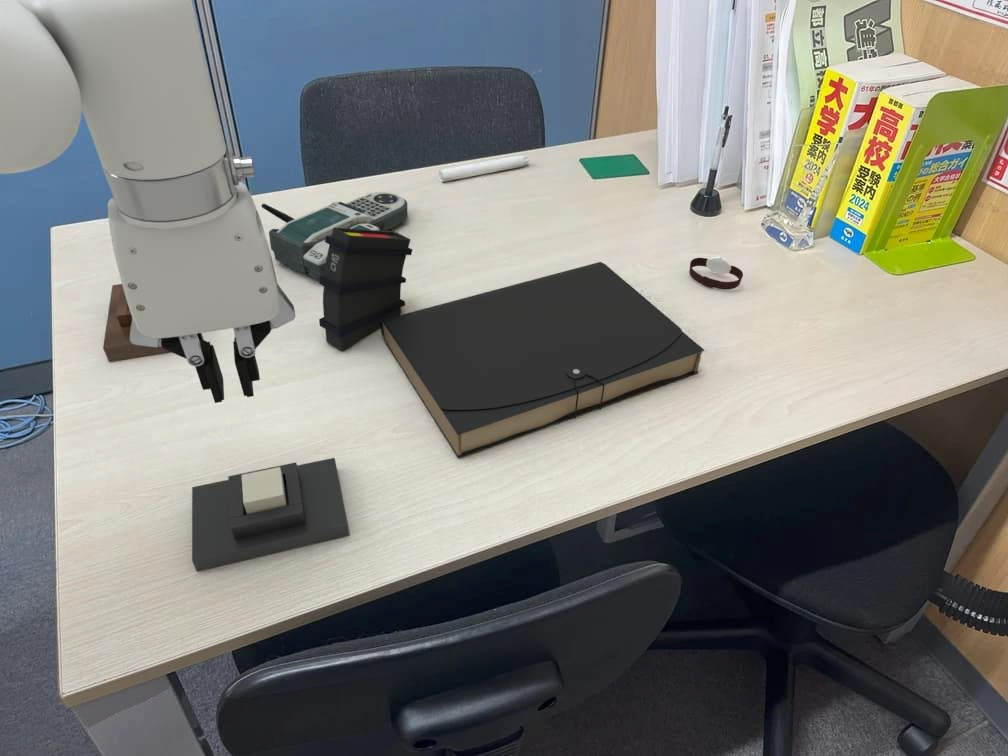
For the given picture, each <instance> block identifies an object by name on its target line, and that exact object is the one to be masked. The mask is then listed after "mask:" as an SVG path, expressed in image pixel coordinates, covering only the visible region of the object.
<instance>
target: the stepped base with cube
mask: <svg viewBox="0 0 1008 756" xmlns="http://www.w3.org/2000/svg"><path fill="white" fill-rule="evenodd" d="M277 467H280V468H281V472H282V476H283V481H284V489H285V497H286V505H287V506H284V507H280V508H275V509H271V510H266V511H262V512H257V513H252V514H248V515H247V513H246V510H245V507H244V504H243V491H242V475H243V474H248V473H253V472H258V471H263V470H267V469H272V468H277ZM344 537H345V538H346V537H350V529H349V523H348V519H347V514H346V509H345V503H344V498H343V493H342V487H341V483H340V477H339V473H338V468H337V462H336V458H335V457H331V458H327V459H322V460H316V461H311V462H307V463H302V464H297V462H290V463H287V464H286V463H285V464H282V465H281V464H280V465H277V466H276V465H275V466H271V467H266V468H262V469H257V470H252V471H247V472H243V473H238V474H233V475H228V477H227V479H225V480H221V481H220V480H219V481H215V482H211V483H210V482H209V483H205V484H201V485H197V486H192V487H191V562H192V564H193V567H194V569H195V571H196V572H201V571H205V570H209V569H213V568H218V567H222V566H226V565H231V564H234V563H238V562H243V561H247V560H251V559H252V560H253V559H256V558H259V557H265V556H268V555H273V554H276V553H281V552H285V551H290V550H293V549H298V548H302V547H306V546H310V545H315V544H319V543H324V542H328V541H332V540H335V539H340V538H344Z"/></svg>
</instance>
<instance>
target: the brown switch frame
mask: <svg viewBox="0 0 1008 756" xmlns="http://www.w3.org/2000/svg"><path fill="white" fill-rule="evenodd" d="M110 291H111V292H110V299H109V304H108V305H109V306H108V313H107V319H106V324H105V325H106V326H105V331H104V338H103V346H102V349H103V351H104V354H105V356H106V359H107V360H108V362H109V363H110V362H116V361H124V360H127V359H128V360H129V359H135V358H141V357H147V356H154V355H160V354H161V355H162V354H166V353H171V352H170V351H168V350H166V349H164V348H163V347H160V346H158V347H150V346H141V345H135V344H132V343H131V342H130V330H131V322H132V315H131V312H130V309H129V306H128V303H127V299H126V296H125V292H124V289H123V285H122V283H119V284H112V285H111V290H110Z"/></svg>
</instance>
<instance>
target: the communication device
mask: <svg viewBox="0 0 1008 756" xmlns="http://www.w3.org/2000/svg"><path fill="white" fill-rule="evenodd" d="M261 208H262V209H264V210H265V211H267V212H269V213H270V214H271V215H273V216H275V217H277V218H278V219H279V220H281V221H282V222H285V223H284V225H282V226H281V227H280V228H271V229H270V230H269V231H268V237H269V243H270V251H273V255H274V259H275V260H276V261H277V262H279V263H281V264H283V265H286V266H287V267H290V268H292V269H294V270H296V271H299V272H300V273H303V274H308V276H310V277H311V278H314V279H316V280H318V281H319V277H320V276H324V275H325V266H326V258H327V254H328V249H329V244H327V243H326V242H325V239H326V236H332V232H333V228H334V227H335V228H350V229H364V230H378V231H390V230H391V229H393V228H395V227H397V226H399V225H401V224H402V223H403V222H404V221H405V220H406V219H407V217H408V202H407V200H406V199H405V198H404V197H402V196H401V195H399V194H397V193H393V192H387V191H375V192H374V191H373V192H370V193H366V194H364V195H362V196H359V197H358V198H357V197H356V198H355V199H353V200H351V201H348V202H342V201H340V200H339V201H332V202H331V203H330V204H328V205H326V206H323V207H321V208H318V209H316V210H314V211H311V212H308V213H307V214H303V215H302V216H299V217H297V218H294V217H292V216H291V215H288V214H286V213H284V212H282V211H280V210H278V209H277V208H274V207H272V206H270V205H268V204H267V203H262V204H261Z"/></svg>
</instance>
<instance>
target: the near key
mask: <svg viewBox="0 0 1008 756" xmlns="http://www.w3.org/2000/svg"><path fill="white" fill-rule="evenodd" d="M242 491H243V504H244V507H245V510H246V513H247V515H248V514H252V513H257V512H262V511H266V510H271V509H275V508H280V507H284V506H287V505H286V497H285V489H284V481H283V476H282V472H281V468H280V467H277V468H272V469H267V470H263V471H258V472H253V473H248V474H243V475H242Z"/></svg>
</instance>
